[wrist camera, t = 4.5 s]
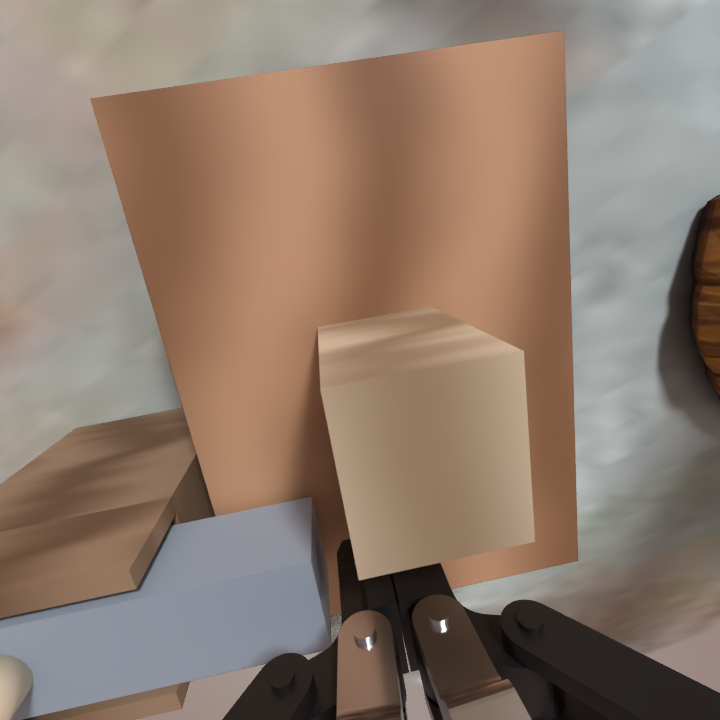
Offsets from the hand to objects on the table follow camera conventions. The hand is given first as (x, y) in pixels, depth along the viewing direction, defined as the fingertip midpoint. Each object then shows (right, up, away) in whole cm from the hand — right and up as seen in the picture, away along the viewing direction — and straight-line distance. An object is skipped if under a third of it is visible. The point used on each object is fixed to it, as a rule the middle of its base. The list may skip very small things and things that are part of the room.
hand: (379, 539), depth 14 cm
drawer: (-7, -1, 0) cm, 7 cm away
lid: (0, +6, +1) cm, 6 cm away
